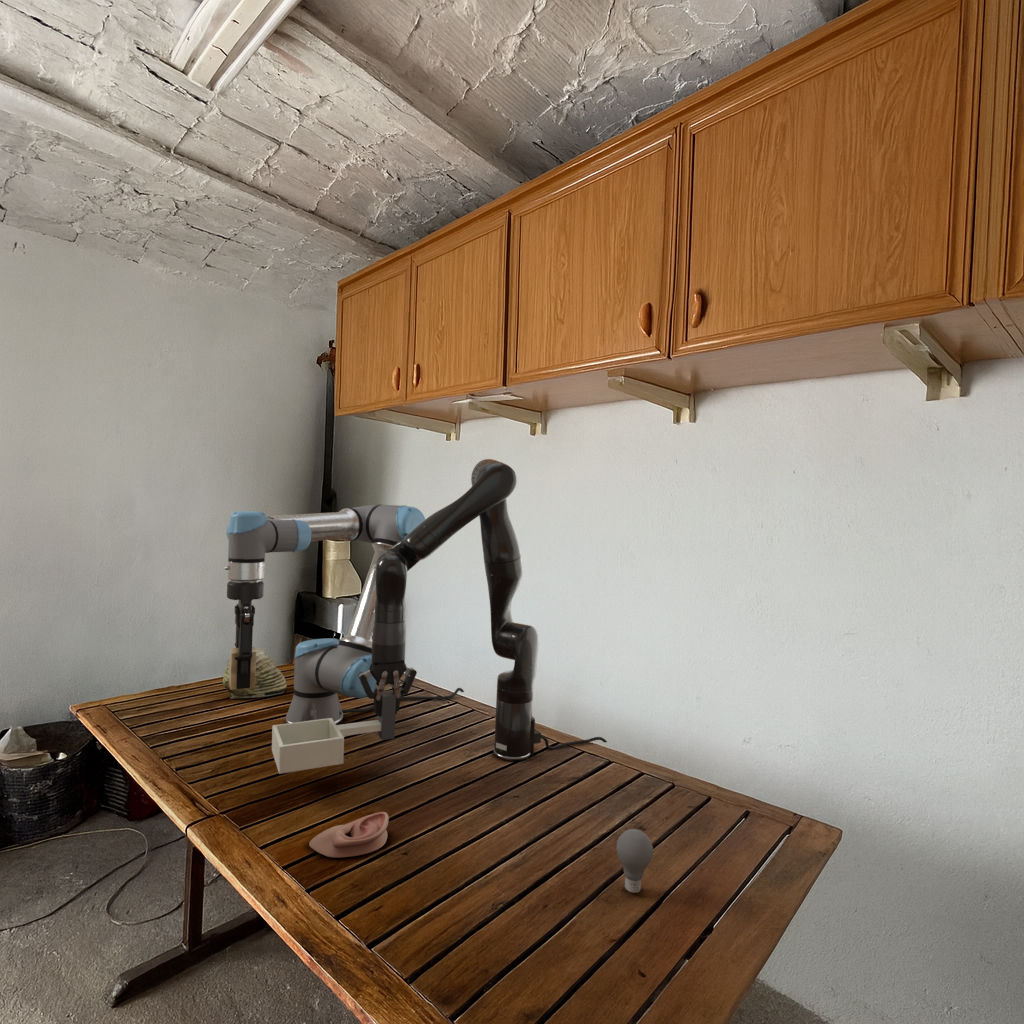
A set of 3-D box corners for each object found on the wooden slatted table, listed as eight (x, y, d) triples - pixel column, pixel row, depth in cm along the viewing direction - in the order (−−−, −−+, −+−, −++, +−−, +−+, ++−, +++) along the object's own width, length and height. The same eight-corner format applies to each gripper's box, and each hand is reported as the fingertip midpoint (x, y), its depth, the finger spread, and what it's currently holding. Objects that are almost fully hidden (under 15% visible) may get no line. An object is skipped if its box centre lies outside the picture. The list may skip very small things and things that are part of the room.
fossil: (218, 695, 195) (220, 647, 195) (278, 685, 208) (279, 640, 207) (228, 703, 189) (230, 653, 188) (289, 692, 201) (290, 645, 201)
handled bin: (384, 734, 152) (385, 684, 152) (400, 754, 141) (401, 701, 141) (271, 750, 141) (273, 696, 141) (279, 774, 129) (280, 715, 129)
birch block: (252, 681, 145) (254, 646, 145) (254, 687, 140) (256, 651, 140) (228, 683, 142) (230, 648, 142) (230, 689, 138) (231, 653, 138)
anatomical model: (300, 830, 112) (331, 801, 124) (300, 852, 112) (331, 821, 124) (370, 841, 110) (395, 810, 121) (369, 864, 110) (395, 831, 121)
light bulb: (610, 879, 108) (613, 822, 108) (644, 879, 109) (647, 822, 109) (619, 902, 102) (622, 840, 102) (655, 901, 103) (658, 840, 103)
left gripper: (225, 575, 147) (221, 675, 148) (229, 586, 131) (225, 698, 132) (259, 575, 151) (256, 672, 151) (268, 585, 135) (264, 694, 135)
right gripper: (362, 646, 139) (359, 723, 139) (423, 641, 145) (420, 715, 146) (354, 638, 146) (352, 712, 146) (413, 634, 152) (410, 705, 152)
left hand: (242, 684), depth 141 cm, fingers closed on birch block, 5 cm apart
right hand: (386, 713), depth 146 cm, fingers closed on handled bin, 3 cm apart
